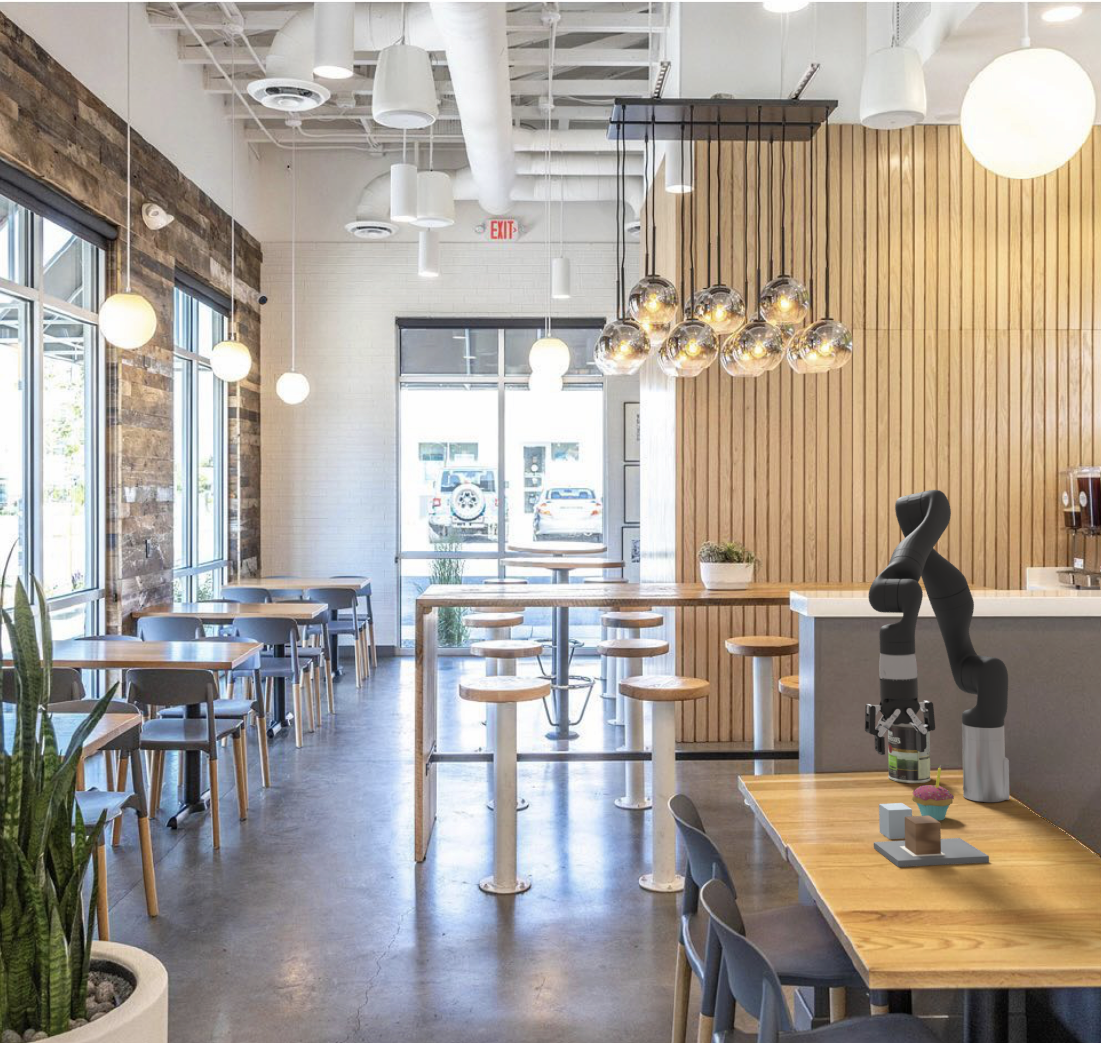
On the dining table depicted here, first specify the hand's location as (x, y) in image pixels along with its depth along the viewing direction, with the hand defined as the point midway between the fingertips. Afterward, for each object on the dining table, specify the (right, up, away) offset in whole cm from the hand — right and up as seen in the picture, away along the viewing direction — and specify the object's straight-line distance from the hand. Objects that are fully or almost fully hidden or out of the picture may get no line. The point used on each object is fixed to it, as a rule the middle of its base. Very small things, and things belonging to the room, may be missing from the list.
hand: (900, 752), depth 226 cm
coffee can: (+18, -17, +49) cm, 55 cm away
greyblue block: (-1, -18, +1) cm, 18 cm away
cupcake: (+11, -17, +13) cm, 25 cm away
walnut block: (0, -16, -14) cm, 21 cm away
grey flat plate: (+2, -17, -13) cm, 22 cm away
